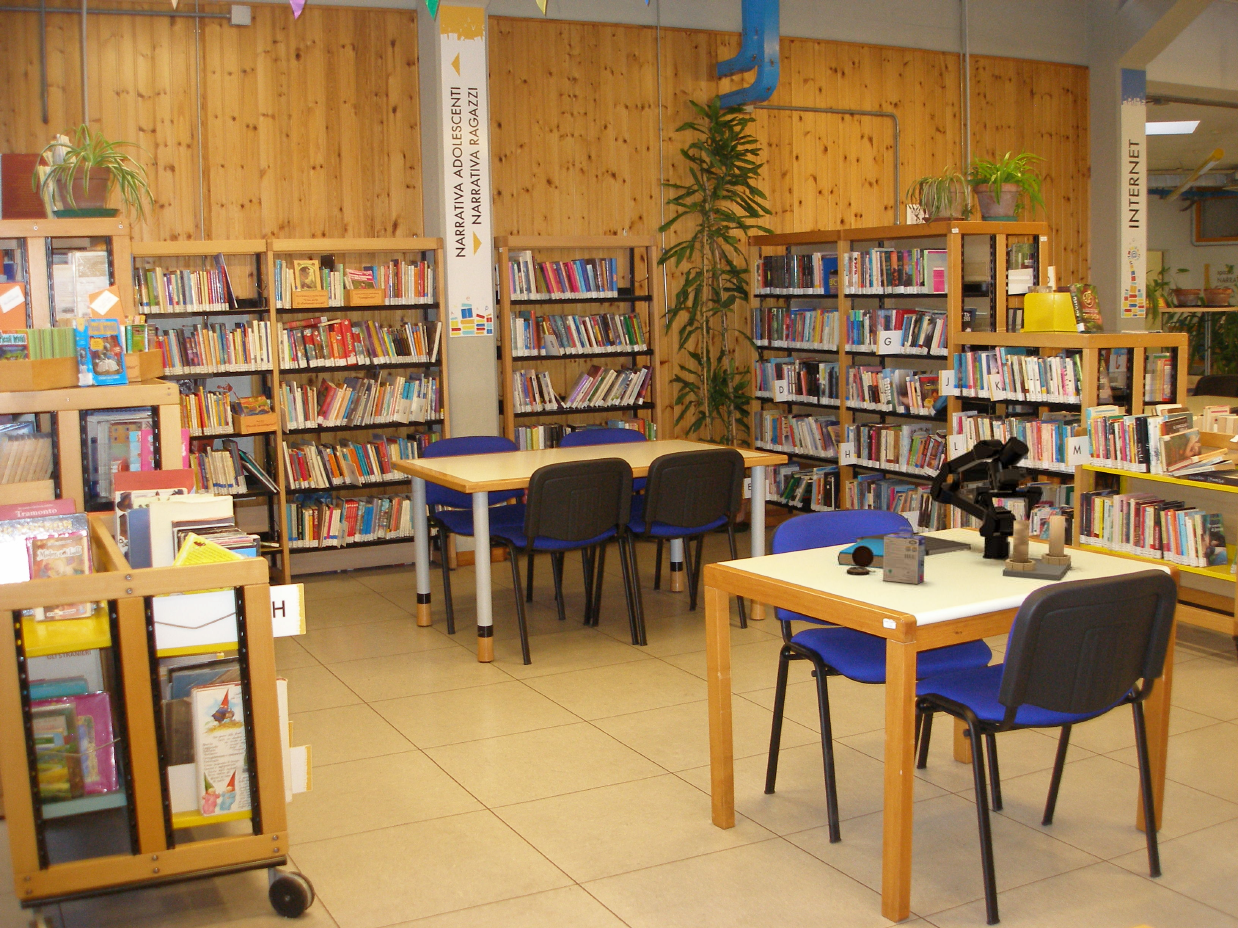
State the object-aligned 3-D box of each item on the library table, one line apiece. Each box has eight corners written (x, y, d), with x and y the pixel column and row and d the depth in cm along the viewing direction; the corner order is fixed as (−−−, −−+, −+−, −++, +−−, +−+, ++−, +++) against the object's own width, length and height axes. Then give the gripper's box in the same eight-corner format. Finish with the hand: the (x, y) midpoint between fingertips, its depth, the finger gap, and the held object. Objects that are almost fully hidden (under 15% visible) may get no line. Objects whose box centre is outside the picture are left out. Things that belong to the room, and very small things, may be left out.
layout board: (1002, 575, 320) (1004, 523, 318) (1017, 561, 338) (1019, 512, 337) (1059, 580, 312) (1061, 526, 311) (1071, 566, 331) (1073, 515, 330)
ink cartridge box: (925, 581, 314) (926, 527, 312) (918, 584, 309) (919, 530, 307) (889, 577, 319) (890, 524, 317) (882, 581, 314) (883, 527, 313)
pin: (1011, 568, 321) (1012, 521, 320) (1014, 566, 324) (1015, 519, 323) (1026, 570, 319) (1027, 522, 318) (1029, 567, 323) (1030, 520, 321)
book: (919, 542, 350) (896, 555, 329) (919, 556, 351) (896, 570, 329) (863, 537, 359) (837, 550, 337) (863, 551, 359) (837, 564, 337)
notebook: (970, 551, 359) (903, 538, 383) (970, 543, 359) (903, 531, 383) (920, 558, 348) (854, 544, 372) (920, 550, 348) (854, 537, 371)
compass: (843, 574, 324) (843, 548, 323) (853, 569, 330) (853, 543, 330) (871, 577, 320) (871, 550, 319) (880, 572, 326) (881, 546, 325)
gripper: (975, 458, 334) (985, 501, 325) (1042, 457, 334) (1053, 501, 324) (967, 482, 343) (976, 525, 333) (1032, 481, 342) (1043, 525, 332)
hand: (1012, 518), depth 330 cm, fingers open, 9 cm apart
